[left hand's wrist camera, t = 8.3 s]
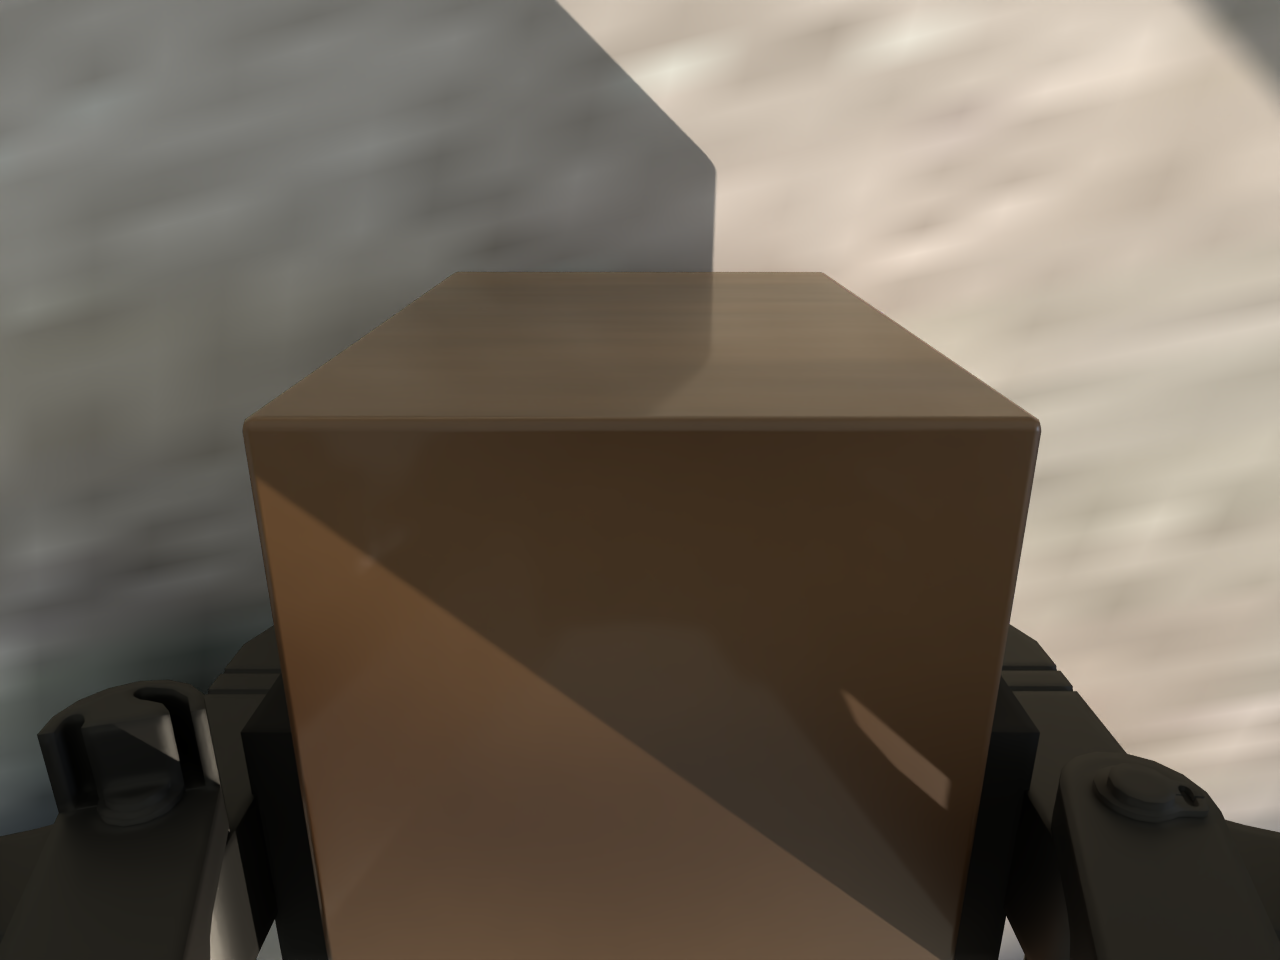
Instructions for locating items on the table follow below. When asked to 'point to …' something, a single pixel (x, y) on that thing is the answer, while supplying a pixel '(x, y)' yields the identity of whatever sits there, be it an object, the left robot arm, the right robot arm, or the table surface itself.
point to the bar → (641, 619)
